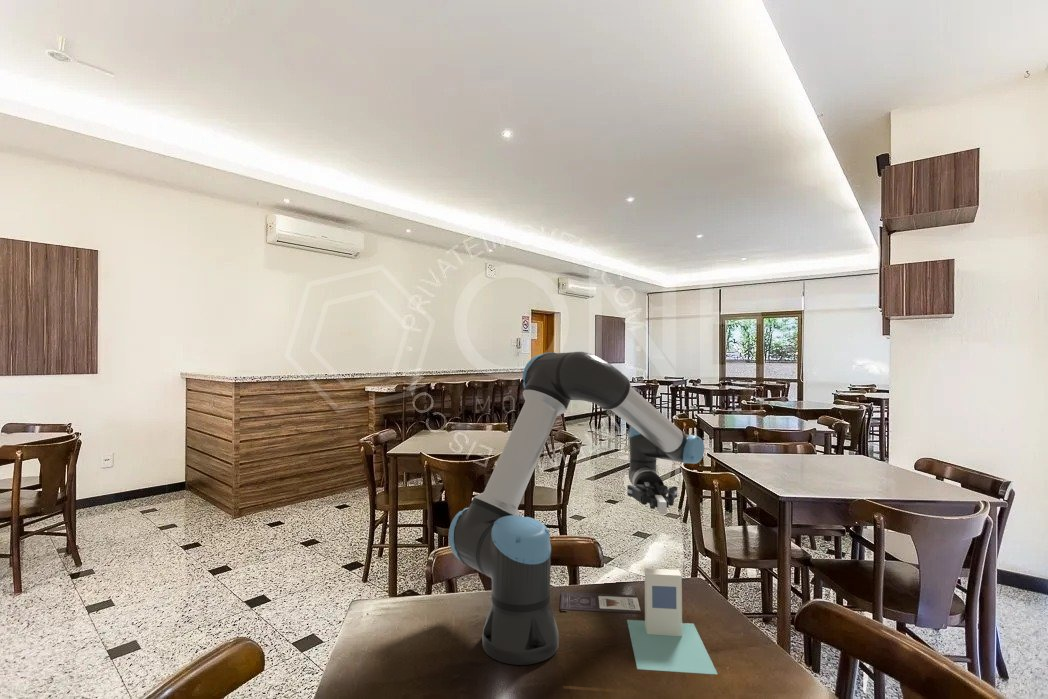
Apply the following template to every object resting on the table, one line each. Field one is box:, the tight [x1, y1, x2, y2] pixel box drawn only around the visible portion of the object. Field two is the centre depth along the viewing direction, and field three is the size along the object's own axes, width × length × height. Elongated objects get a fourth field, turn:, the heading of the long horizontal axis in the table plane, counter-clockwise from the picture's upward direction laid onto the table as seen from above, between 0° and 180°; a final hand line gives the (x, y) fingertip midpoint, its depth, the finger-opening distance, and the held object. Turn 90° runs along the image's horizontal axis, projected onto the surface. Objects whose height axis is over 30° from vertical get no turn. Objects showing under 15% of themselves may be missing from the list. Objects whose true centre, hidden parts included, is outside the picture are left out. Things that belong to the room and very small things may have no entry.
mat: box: [626, 619, 719, 676], centre depth 97 cm, size 14×18×1 cm
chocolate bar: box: [559, 591, 642, 615], centre depth 114 cm, size 9×1×18 cm
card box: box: [644, 568, 683, 636], centre depth 102 cm, size 7×3×12 cm, turn 84°
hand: (663, 508), depth 111 cm, fingers closed
